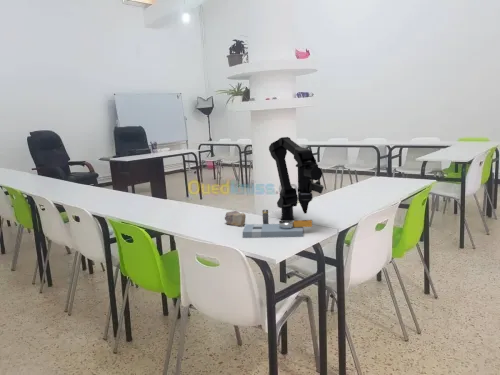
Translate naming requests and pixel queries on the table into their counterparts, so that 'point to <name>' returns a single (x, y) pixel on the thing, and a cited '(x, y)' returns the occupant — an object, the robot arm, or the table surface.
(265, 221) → the pin
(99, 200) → the table surface
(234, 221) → the mineral specimen
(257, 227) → the plate
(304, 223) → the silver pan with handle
